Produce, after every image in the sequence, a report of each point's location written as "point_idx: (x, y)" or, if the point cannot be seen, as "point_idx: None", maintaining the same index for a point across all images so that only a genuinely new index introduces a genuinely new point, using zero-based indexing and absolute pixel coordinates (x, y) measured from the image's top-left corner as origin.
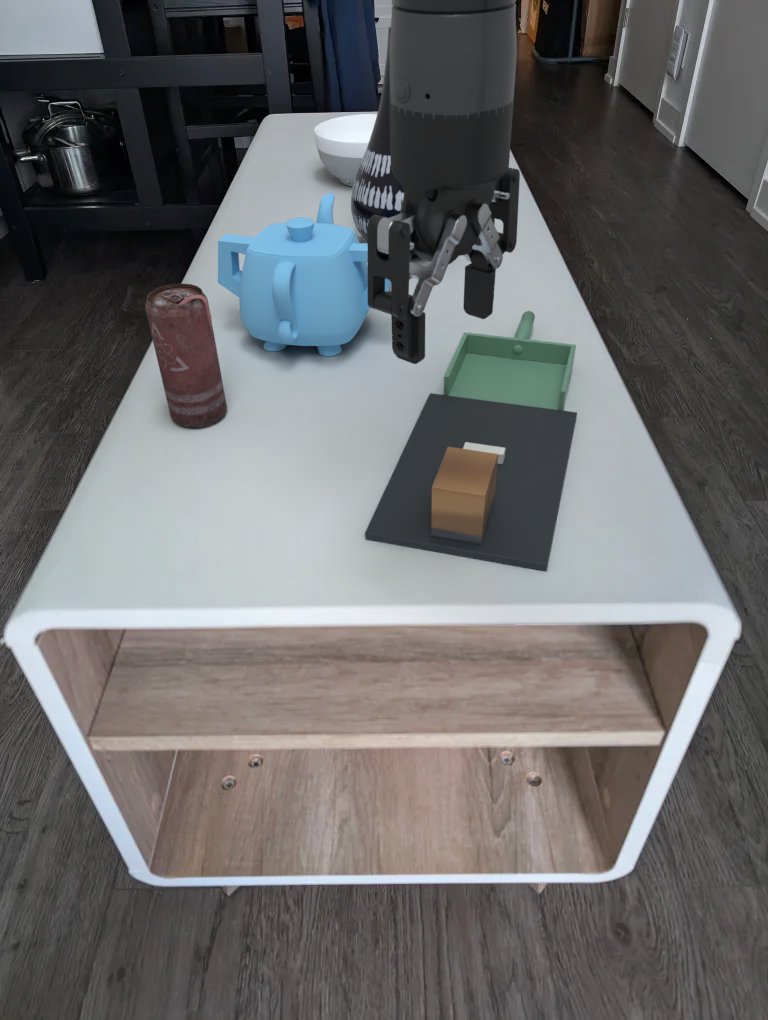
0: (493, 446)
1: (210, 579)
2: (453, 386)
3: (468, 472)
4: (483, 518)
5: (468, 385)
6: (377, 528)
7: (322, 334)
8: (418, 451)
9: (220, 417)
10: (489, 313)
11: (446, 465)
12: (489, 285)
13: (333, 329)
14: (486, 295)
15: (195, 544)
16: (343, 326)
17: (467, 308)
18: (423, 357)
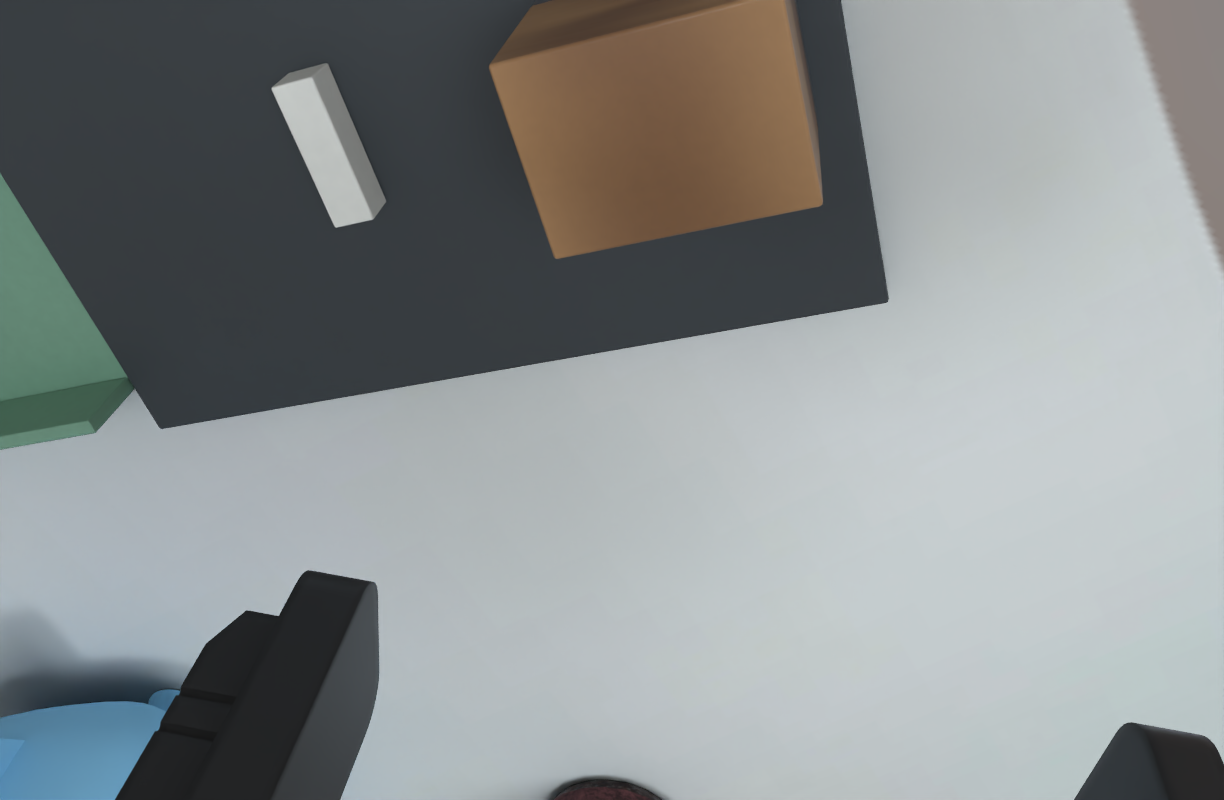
0: (293, 130)
1: (1195, 545)
2: (69, 384)
3: (670, 120)
4: None
5: (27, 348)
6: (853, 279)
7: None
8: (440, 336)
9: (607, 786)
10: (335, 590)
11: (669, 214)
12: (273, 797)
13: None
14: (307, 728)
15: (1076, 628)
16: (137, 756)
17: (367, 710)
18: (1169, 741)
